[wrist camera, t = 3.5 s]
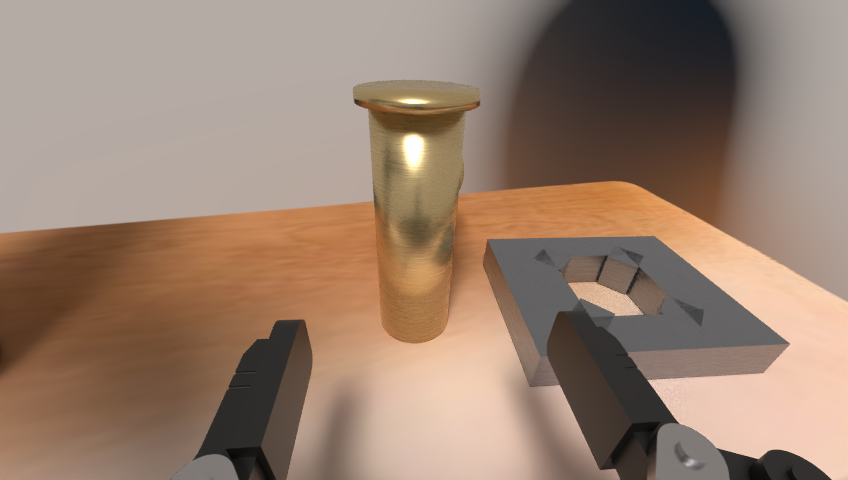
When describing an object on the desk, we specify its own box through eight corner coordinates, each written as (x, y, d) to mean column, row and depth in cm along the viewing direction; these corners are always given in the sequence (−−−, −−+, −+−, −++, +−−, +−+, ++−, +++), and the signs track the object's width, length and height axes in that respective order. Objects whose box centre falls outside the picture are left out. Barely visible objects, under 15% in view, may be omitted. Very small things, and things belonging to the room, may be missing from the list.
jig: (530, 386, 18) (540, 356, 17) (483, 264, 27) (487, 239, 26) (763, 372, 19) (790, 344, 18) (642, 260, 28) (654, 236, 27)
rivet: (369, 353, 19) (345, 99, 12) (373, 290, 24) (358, 79, 17) (463, 348, 20) (496, 101, 12) (449, 287, 25) (467, 81, 17)
